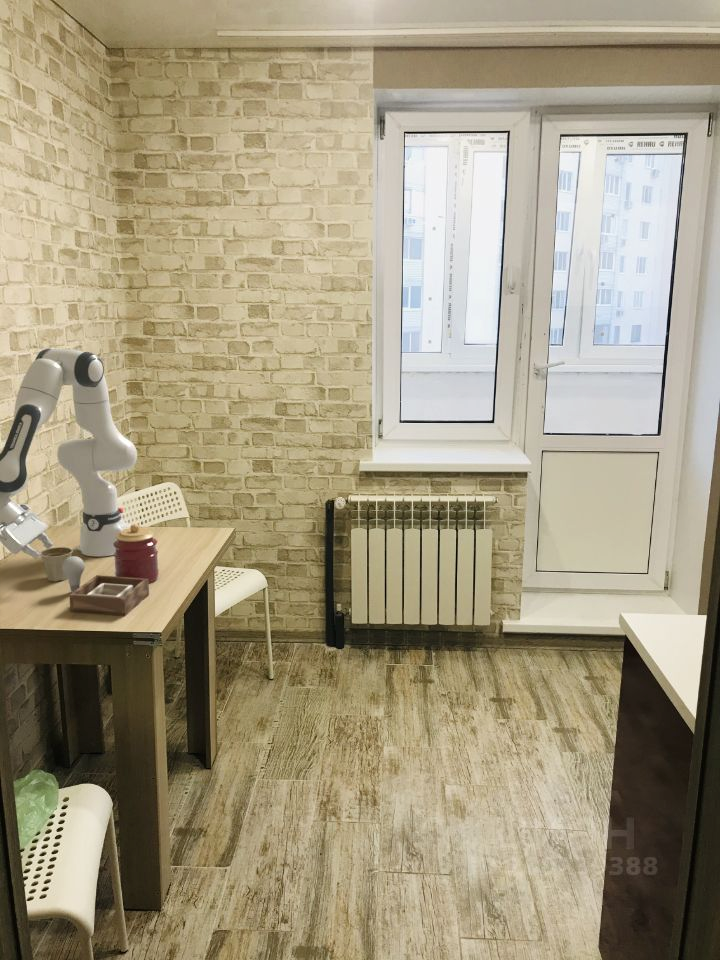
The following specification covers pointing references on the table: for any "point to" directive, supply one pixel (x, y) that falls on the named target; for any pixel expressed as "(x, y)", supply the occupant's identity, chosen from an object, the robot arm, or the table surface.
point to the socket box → (109, 595)
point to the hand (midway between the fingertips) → (44, 551)
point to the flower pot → (55, 562)
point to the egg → (73, 571)
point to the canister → (136, 554)
